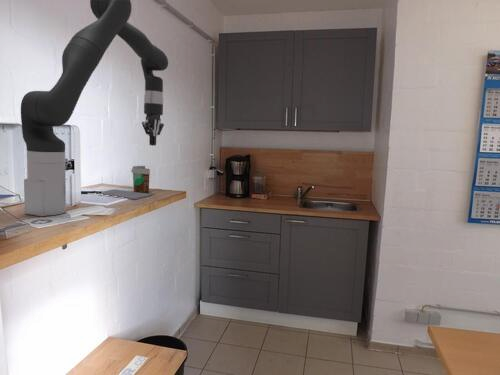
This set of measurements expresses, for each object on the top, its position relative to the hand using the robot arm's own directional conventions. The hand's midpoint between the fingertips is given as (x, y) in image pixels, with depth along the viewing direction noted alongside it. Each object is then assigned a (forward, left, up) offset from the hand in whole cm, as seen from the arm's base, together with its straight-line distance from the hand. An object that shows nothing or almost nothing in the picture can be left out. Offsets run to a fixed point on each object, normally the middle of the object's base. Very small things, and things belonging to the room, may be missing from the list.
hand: (152, 145), depth 150 cm
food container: (-9, 0, -19) cm, 21 cm away
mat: (-18, 0, -18) cm, 26 cm away
